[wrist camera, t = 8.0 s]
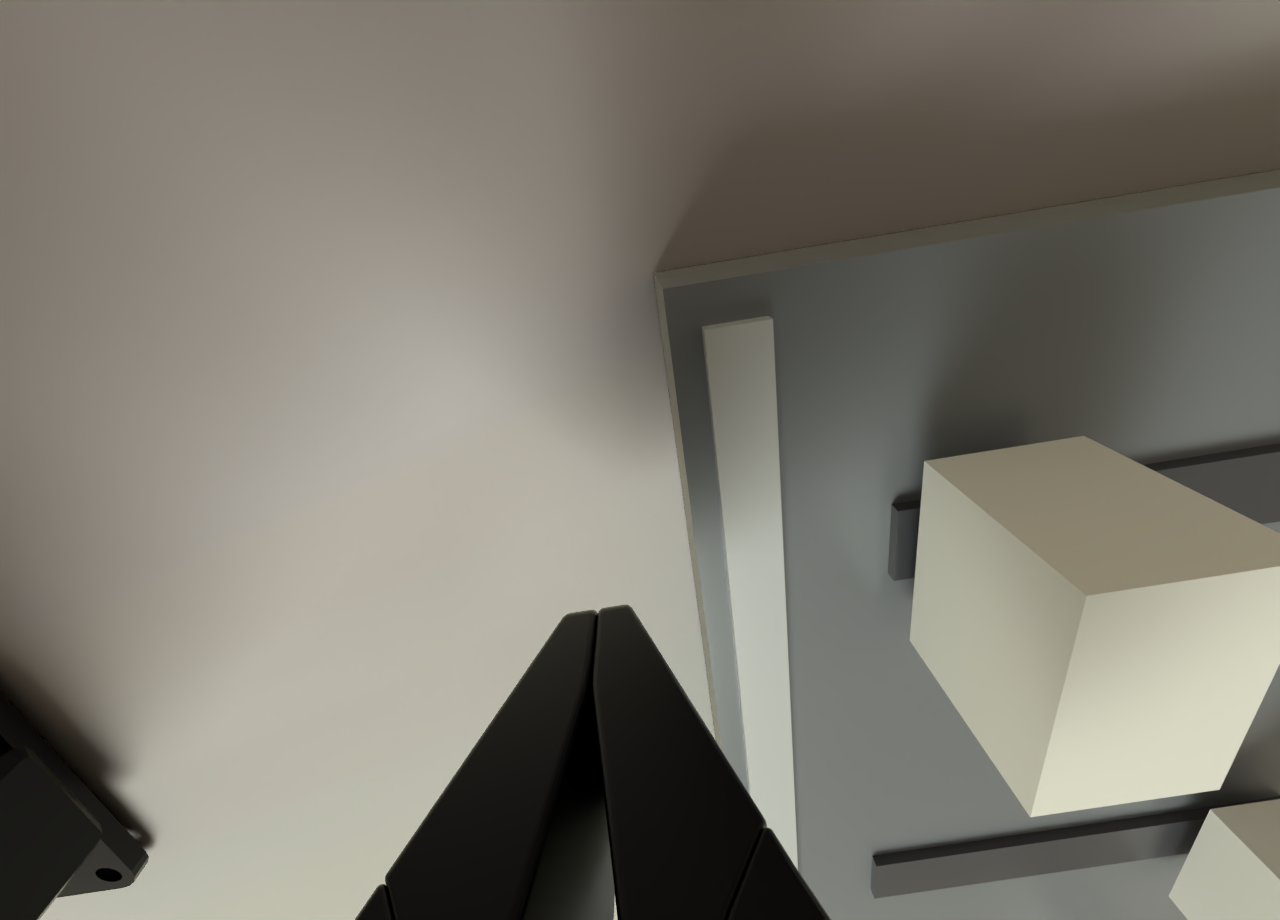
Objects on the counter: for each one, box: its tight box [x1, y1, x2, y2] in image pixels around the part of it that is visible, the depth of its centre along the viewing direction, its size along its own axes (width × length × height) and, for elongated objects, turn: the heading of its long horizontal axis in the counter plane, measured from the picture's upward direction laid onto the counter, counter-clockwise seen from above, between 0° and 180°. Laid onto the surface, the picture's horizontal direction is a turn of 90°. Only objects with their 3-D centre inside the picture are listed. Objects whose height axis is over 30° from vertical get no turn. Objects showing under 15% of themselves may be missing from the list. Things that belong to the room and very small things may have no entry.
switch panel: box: [653, 169, 1280, 920], centre depth 12 cm, size 14×25×2 cm, turn 9°
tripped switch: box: [910, 436, 1280, 817], centre depth 6 cm, size 2×3×3 cm, turn 9°
